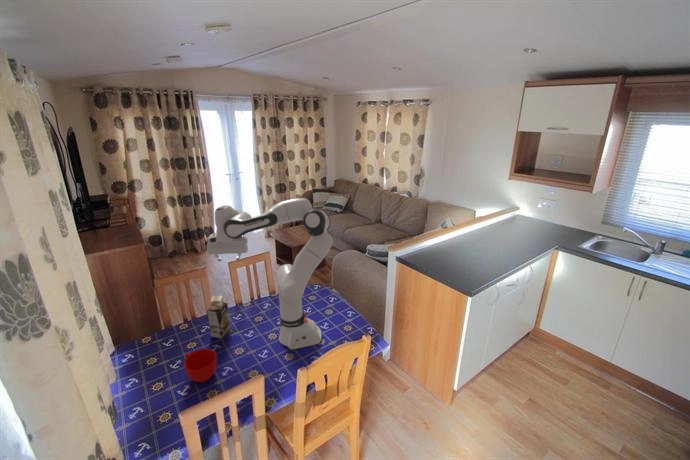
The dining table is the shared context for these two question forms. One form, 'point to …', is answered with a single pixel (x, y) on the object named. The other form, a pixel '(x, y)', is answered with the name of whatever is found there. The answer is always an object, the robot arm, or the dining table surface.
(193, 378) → the ceramic cup
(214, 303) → the maple cube
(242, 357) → the dining table surface
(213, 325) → the coffee box
